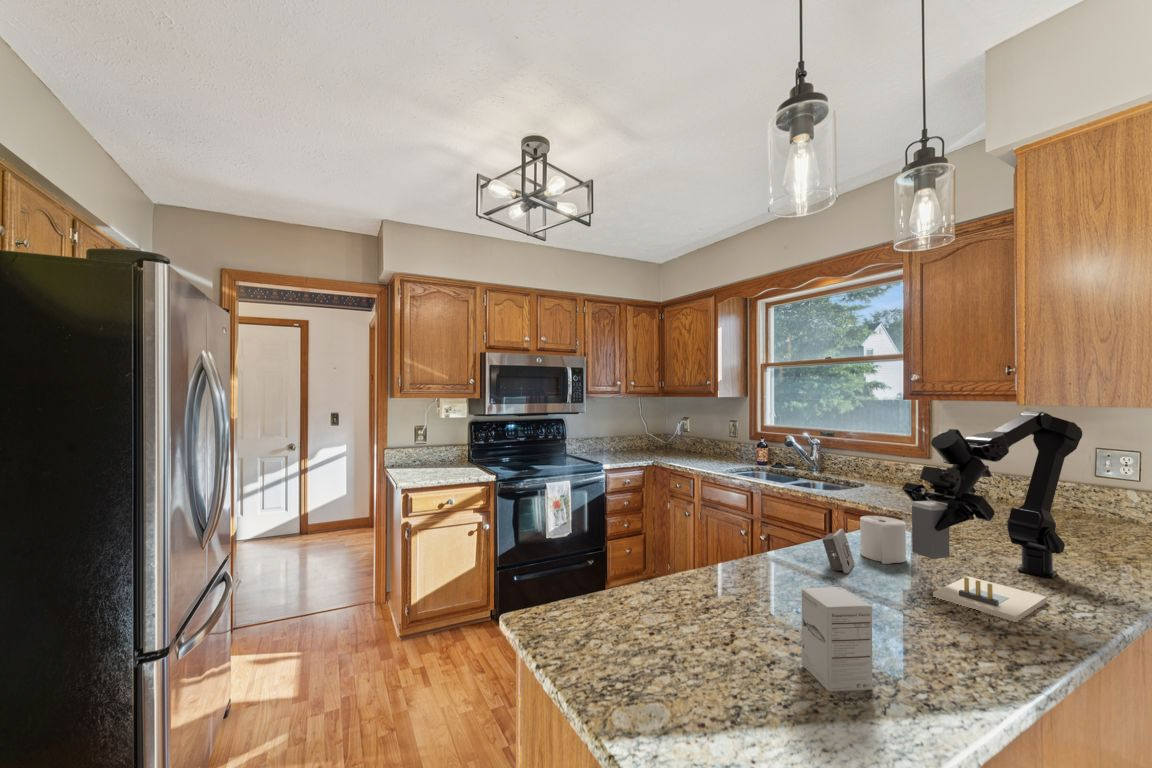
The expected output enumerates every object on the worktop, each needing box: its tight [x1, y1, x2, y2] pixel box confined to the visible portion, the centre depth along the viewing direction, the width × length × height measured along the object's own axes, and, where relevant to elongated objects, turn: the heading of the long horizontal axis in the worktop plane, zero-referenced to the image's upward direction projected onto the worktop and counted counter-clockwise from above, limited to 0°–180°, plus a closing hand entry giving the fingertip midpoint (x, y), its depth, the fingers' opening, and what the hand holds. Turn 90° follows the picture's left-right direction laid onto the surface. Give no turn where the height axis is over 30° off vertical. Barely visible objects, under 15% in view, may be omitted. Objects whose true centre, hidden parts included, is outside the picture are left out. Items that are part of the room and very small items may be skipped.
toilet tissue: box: [859, 515, 907, 564], centre depth 134 cm, size 11×12×10 cm
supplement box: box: [801, 586, 873, 693], centre depth 76 cm, size 7×7×13 cm
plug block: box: [911, 501, 951, 560], centre depth 115 cm, size 5×5×12 cm
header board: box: [932, 575, 1048, 623], centre depth 106 cm, size 18×14×5 cm
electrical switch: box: [822, 528, 855, 575], centre depth 126 cm, size 9×5×9 cm, turn 141°
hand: (925, 526), depth 115 cm, fingers closed on plug block, 5 cm apart
